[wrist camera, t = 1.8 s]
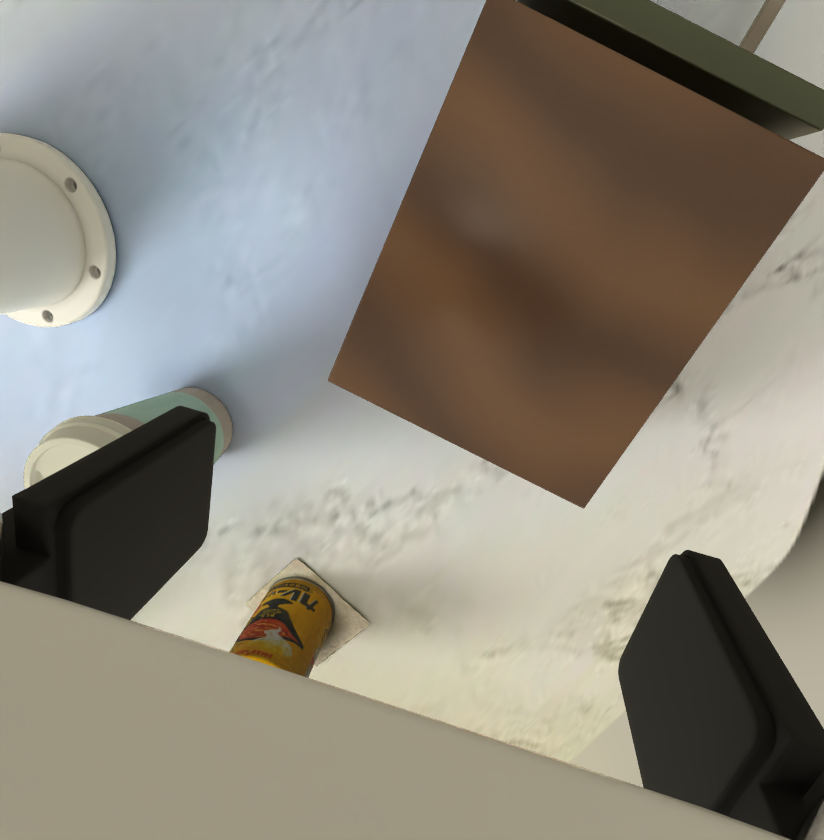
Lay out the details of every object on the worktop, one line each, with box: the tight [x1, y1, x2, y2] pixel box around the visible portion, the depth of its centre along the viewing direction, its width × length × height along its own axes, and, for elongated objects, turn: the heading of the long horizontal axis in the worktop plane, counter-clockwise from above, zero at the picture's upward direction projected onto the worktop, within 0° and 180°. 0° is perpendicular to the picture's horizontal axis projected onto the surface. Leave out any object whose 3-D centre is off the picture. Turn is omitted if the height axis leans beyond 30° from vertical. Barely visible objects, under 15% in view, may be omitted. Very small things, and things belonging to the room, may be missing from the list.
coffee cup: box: [24, 388, 233, 489], centre depth 35 cm, size 8×8×12 cm
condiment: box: [230, 559, 371, 678], centre depth 40 cm, size 7×8×12 cm
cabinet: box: [328, 0, 824, 508], centre depth 29 cm, size 18×15×10 cm
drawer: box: [517, 0, 824, 140], centre depth 27 cm, size 22×14×8 cm, turn 155°
